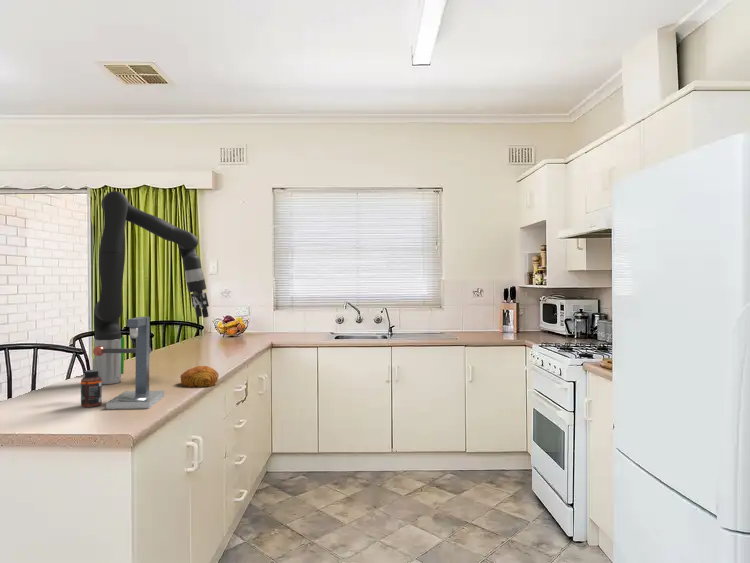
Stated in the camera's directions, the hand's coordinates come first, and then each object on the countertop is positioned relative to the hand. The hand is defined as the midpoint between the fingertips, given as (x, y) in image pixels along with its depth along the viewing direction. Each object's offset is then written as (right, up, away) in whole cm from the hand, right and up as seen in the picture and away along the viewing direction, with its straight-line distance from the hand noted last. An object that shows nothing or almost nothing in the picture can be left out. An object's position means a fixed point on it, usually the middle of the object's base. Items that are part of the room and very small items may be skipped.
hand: (202, 317), depth 232 cm
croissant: (+5, -25, -20) cm, 32 cm away
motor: (-40, -25, +2) cm, 47 cm away
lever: (-14, -11, -44) cm, 48 cm away
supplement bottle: (-18, -25, -58) cm, 65 cm away
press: (-5, -25, -52) cm, 58 cm away
